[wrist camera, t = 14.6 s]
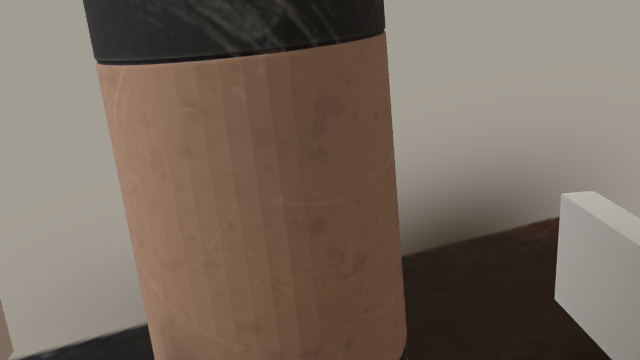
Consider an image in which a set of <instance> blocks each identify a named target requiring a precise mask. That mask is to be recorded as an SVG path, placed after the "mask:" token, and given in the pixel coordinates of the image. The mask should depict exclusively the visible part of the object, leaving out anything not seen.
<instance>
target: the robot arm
mask: <svg viewBox="0 0 640 360" xmlns="http://www.w3.org/2000/svg"><path fill="white" fill-rule="evenodd" d="M555 300H556V301H557V302H558V303H559V304H560V305H561V306H562V307H563V308H564V309H565V310H566V311H567V312H568V313H569V315H570V316H571V317H572V318H573V319H574V320H575V321H576V322H577V323H578V324H579V325H580V326H581V327H582V328H583V329H584V330H585V331H586V333H587V334H588V335H589V336H590V337H591V338H592V339H593V340H594V341H595V342H596V343H597V344H598V345H599V346H600V347H601V348H602V349H603V351H604V352H605V353H606V354H607V355H608V356H609V357H610V358H611V359H612V360H640V218H638V217H636V216H635V215H633V214H631V213H630V212H628V211H626V210H624V209H623V208H621V207H619V206H618V205H616V204H614V203H613V202H611V201H609V200H608V199H606V198H604V197H602V196H601V195H599V194H597V193H596V192H594V191H587V192H577V193H565V194H561V208H560V223H559V239H558V254H557V270H556V286H555ZM12 353H13V347H12V343H11V339H10V335H9V331H8V328H7V324H6V320H5V316H4V312H3V309H2V305H1V301H0V360H7V359H8V358H9V357H10V356H11V354H12Z"/></svg>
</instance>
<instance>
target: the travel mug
mask: <svg viewBox="0 0 640 360" xmlns="http://www.w3.org/2000/svg"><path fill="white" fill-rule="evenodd" d="M83 3H84V8H85V12H86V18H87V23H88V28H89V32H90V38H91V43H92V47H93V53H94V58H95V59H96V60H97V63H96V67H97V72H98V77H99V82H100V87H101V92H102V97H103V102H104V107H105V112H106V117H107V122H108V127H109V132H110V137H111V142H112V147H113V152H114V157H115V162H116V167H117V172H118V177H119V182H120V187H121V192H122V197H123V202H124V207H125V212H126V217H127V222H128V227H129V232H130V237H131V242H132V247H133V252H134V257H135V262H136V267H137V272H138V277H139V282H140V287H141V292H142V297H143V302H144V307H145V312H146V317H147V322H148V327H149V332H150V337H151V342H152V347H153V352H154V357H155V360H407V340H406V335H407V332H406V317H405V303H404V289H403V274H402V260H401V245H400V231H399V217H398V203H397V188H396V173H395V160H394V146H393V130H392V116H391V101H390V87H389V73H388V58H387V44H386V33H385V31H384V29H385V15H384V1H383V0H83Z"/></svg>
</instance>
